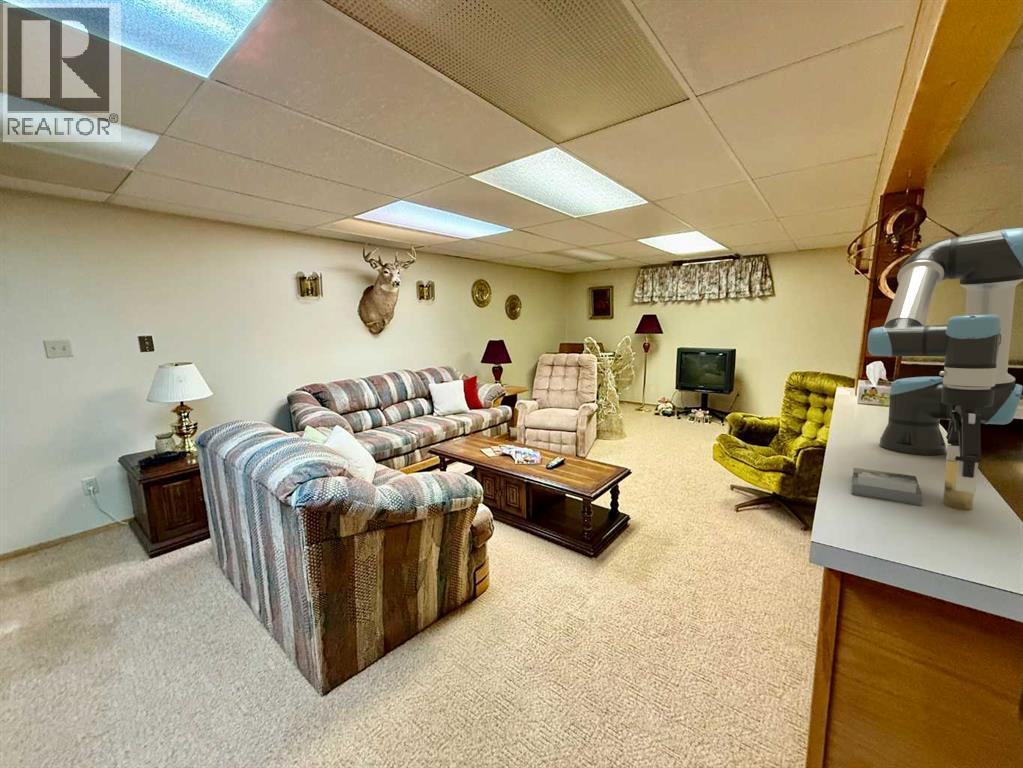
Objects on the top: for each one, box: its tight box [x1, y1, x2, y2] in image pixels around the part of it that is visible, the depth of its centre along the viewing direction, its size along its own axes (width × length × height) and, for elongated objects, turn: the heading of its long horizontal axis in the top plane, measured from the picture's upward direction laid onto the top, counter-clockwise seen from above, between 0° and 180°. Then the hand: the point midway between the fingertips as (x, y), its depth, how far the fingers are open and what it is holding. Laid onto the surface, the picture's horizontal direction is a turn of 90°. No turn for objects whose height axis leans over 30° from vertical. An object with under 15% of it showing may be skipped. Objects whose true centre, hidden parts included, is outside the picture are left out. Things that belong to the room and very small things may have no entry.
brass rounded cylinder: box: [942, 460, 975, 511], centre depth 89 cm, size 4×4×10 cm
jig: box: [851, 467, 923, 506], centre depth 100 cm, size 14×12×5 cm
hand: (959, 481), depth 89 cm, fingers open, 13 cm apart
